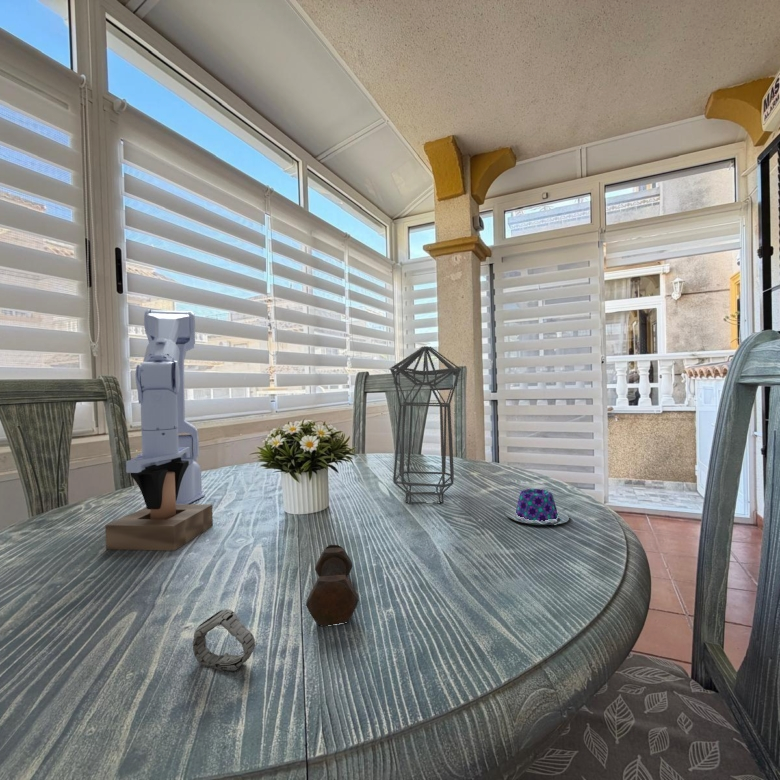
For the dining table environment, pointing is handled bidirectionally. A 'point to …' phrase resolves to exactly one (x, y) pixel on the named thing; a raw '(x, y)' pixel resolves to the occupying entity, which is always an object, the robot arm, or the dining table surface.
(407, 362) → the geometric lantern
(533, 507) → the pudding
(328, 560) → the bolt
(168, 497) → the peg
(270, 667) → the dining table surface
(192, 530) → the socket block
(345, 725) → the dining table surface
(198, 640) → the wristwatch
